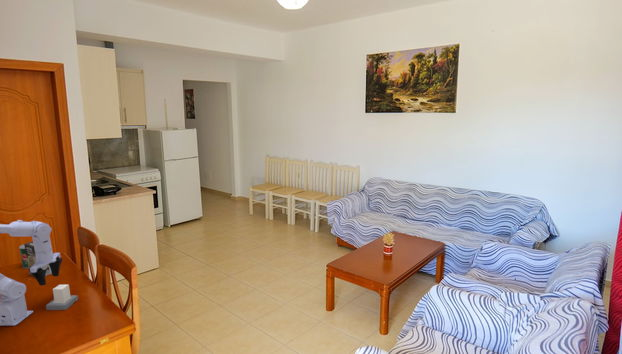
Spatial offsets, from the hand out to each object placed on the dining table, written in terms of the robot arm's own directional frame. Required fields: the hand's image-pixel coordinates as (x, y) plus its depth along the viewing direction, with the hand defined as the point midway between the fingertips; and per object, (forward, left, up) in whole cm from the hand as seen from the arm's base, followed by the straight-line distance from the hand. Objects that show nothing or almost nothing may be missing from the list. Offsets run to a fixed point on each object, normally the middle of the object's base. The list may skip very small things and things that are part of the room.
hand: (49, 280), depth 155 cm
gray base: (-2, -6, -10) cm, 12 cm away
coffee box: (+26, +24, -10) cm, 37 cm away
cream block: (-2, -6, -8) cm, 10 cm away
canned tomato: (+36, +36, -10) cm, 52 cm away
